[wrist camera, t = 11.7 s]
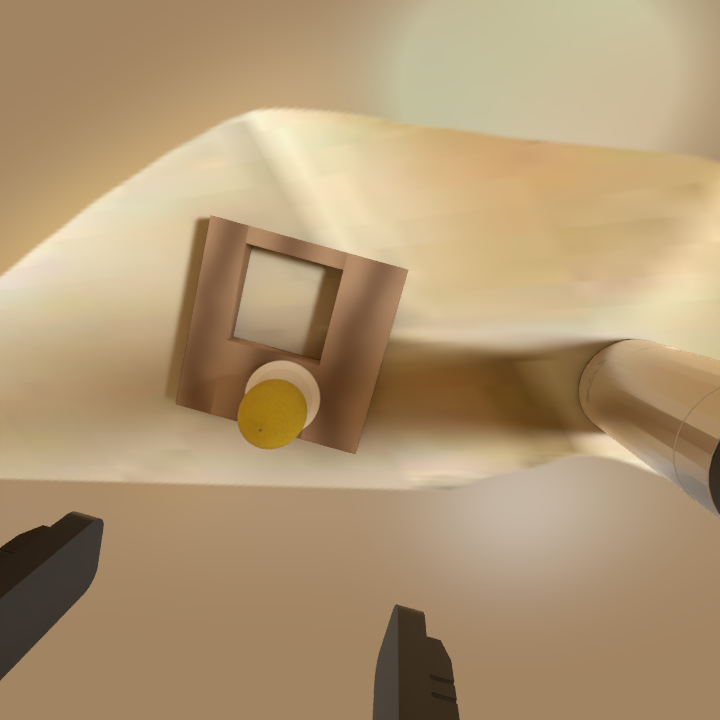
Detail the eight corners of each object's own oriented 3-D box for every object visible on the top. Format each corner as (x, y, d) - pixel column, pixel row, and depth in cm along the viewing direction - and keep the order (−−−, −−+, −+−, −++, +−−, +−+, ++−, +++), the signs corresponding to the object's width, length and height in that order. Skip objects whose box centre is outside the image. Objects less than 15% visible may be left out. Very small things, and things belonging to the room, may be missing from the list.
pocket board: (407, 269, 40) (408, 269, 38) (356, 446, 44) (355, 454, 42) (219, 217, 40) (210, 215, 38) (185, 398, 44) (175, 404, 42)
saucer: (328, 371, 41) (327, 373, 40) (310, 439, 42) (309, 442, 41) (256, 350, 41) (253, 352, 40) (240, 419, 42) (237, 423, 41)
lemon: (265, 433, 41) (236, 471, 33) (247, 377, 40) (213, 403, 32) (321, 420, 41) (305, 455, 33) (304, 363, 40) (284, 386, 32)
